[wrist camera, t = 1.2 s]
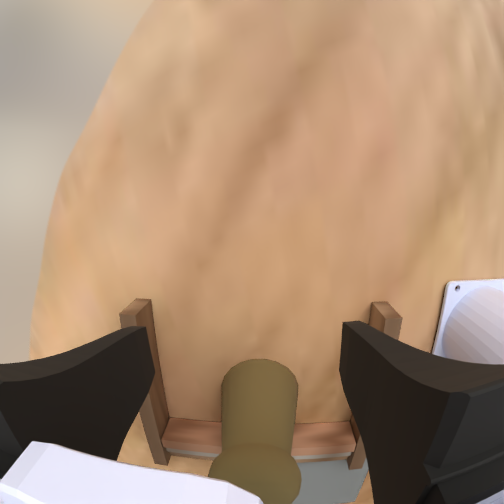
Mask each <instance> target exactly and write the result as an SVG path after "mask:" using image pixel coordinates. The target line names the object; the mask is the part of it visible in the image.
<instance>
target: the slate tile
mask: <svg viewBox="0 0 504 504" xmlns="http://www.w3.org/2000/svg"><path fill="white" fill-rule="evenodd" d="M297 465H298V467H299V469H300V471H301V478H302V481H301V488H300V492H299V495H298V496H297V497H296V499H295V500H294V501H293V502H292V504H340V503H348V502H355V500H356V498H357V495H358V493H359V491H360V489H361V486H362V484H363V482H364V479H365V477H366V475H367V472H368V470H369V468H368V463H367V459H365V462H364V464H363V467H362V469H354V470H349V468H348V464H347V460H346V459H345V460H334V461H322V462H304V463H297Z"/></svg>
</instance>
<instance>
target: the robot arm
mask: <svg viewBox="0 0 504 504" xmlns="http://www.w3.org/2000/svg"><path fill="white" fill-rule="evenodd" d="M457 285H458V287H457V289H456V290H455V287H456V286H457ZM339 371H340V376H341V381H342V385H343V390H344V393H345V396H346V398H347V401H348V404H349V406H350V409H351V411H352V414H353V417H354V419H355V422H356V425H357V427H358V430H359V432H360V435H361V438H362V442H363V445H364V449H365V454H366V459H367V463H368V468H369V474H370V479H371V485H372V492H373V499H374V504H504V279H486V280H464V281H450V282H448V283H447V285H446V288H445V294H444V299H443V305H442V310H441V315H440V320H439V325H438V329H437V334H436V338H435V342H434V346H433V350H432V354H431V353H428V352H425V351H422V350H419V349H416V348H414V347H412V346H409V345H407V344H405V343H403V342H400V341H398V340H396V339H394V338H392V337H390V336H388V335H387V334H385V333H383V332H381V331H379V330H377V329H375V328H374V327H372V326H370V325H368V324H366V323H364V322H361V321H351V322H343V327H342V342H341V355H340V367H339ZM154 375H155V368H154V363H153V359H152V354H151V349H150V344H149V339H148V334H147V329H146V326H130V327H126V328H123V329H120V330H118V331H115V332H113V333H111V334H108V335H106V336H104V337H102V338H99V339H97V340H95V341H92V342H90V343H88V344H85V345H83V346H80V347H77V348H75V349H72V350H70V351H67V352H64V353H61V354H57V355H54V356H50V357H46V358H42V359H37V360H31V361H26V362H20V363H10V364H0V504H263V502H262V501H261V499H260V498H259V497H258V496H256V495H255V494H253V493H251V492H248V491H246V490H244V489H242V488H240V487H238V486H236V485H234V484H232V483H230V482H228V481H226V480H220V479H215V478H210V477H206V476H201V475H197V474H192V473H185V472H177V471H169V470H162V469H156V468H149V467H144V466H138V465H133V464H128V463H123V462H119V461H117V458H118V455H119V452H120V450H121V447H122V444H123V441H124V439H125V437H126V435H127V432H128V431H129V429H130V427H131V425H132V423H133V421H134V419H135V417H136V416H137V414H138V412H139V410H140V408H141V406H142V404H143V402H144V401H145V399H146V397H147V395H148V393H149V390H150V387H151V385H152V382H153V378H154Z"/></svg>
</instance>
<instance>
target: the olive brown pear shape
mask: <svg viewBox="0 0 504 504" xmlns="http://www.w3.org/2000/svg"><path fill="white" fill-rule="evenodd" d="M297 397H298V383H297V380H296V378H295V375H294V374H293V373H292V372H291V371H290V370H289V369H288V368H287V367H285V366H283V365H282V364H280V363H278V362H275V361H271V360H267V359H251V360H248V361H244V362H241V363H239V364H237V365H236V366H234V367H232V368H231V369H230V370H229V371H228V373H227V374H226V375H225V376H224V379H223V383H222V452H221V453H220V454H219V455H218V456H217V457H216V458H215V460H214V461H213V463H212V465H211V468H210V470H209V474H208V477H210V478H215V479H220V480H226V481H228V482H230V483H232V484H234V485H236V486H238V487H240V488H242V489H244V490H246V491H248V492H251V493H253V494H255V495H256V496H258V497H259V498H260V499H261V501H262V502H263V504H292V502H293V501H294V500H295V499H296V497H297V496H298V495H299V492H300V488H301V481H302V478H301V471H300V469H299V467H298V465H297V463H296V461H295V459H294V458H293V457H292V456H291V451H292V442H293V434H294V425H295V416H296V407H297Z"/></svg>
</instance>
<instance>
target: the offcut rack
mask: <svg viewBox="0 0 504 504" xmlns="http://www.w3.org/2000/svg"><path fill="white" fill-rule="evenodd" d="M119 316H120V322H121V328H122V329H123V328H126V327H130V326H146V329H147V334H148V339H149V344H150V349H151V354H152V359H153V363H154V368H155V375H154V378H153V382H152V385H151V387H150V390H149V393H148V395H147V397H146V399H145V401H144V402H143V404H142V406H141V408H140V410H139V412H140V416H141V420H142V423H143V427H144V430H145V434H146V437H147V440H148V444H149V447H150V450H151V453H152V456H153V459H154V463H155V464H161V465H166V466H168V463H169V460H170V457H171V455H173V456H180V457H187V458H196V459H205V460H215V458H216V457H217V456H218V455H219V454H220V453H221V452H222V422H210V421H199V420H189V419H180V418H172V417H170V418H169V413H168V408H167V403H166V398H165V393H164V387H163V382H162V376H161V370H160V364H159V357H158V351H157V344H156V336H155V329H154V321H153V313H152V304H151V299H135V300H134V301H133V302H132V303H131V304H130V305H129V306H127V307H126V308H125V309H124V310H123V311H122V312H121V313H120V314H119ZM401 323H402V317H401V316H400V315H399V314H398V313H397V312H396V311H395V310H394V308H393V307H392V306H391V305H390V304H389V303H388V302H372V305H371V313H370V320H369V325H370V326H372V327H374V328H375V329H377V330H379V331H381V332H383V333H385V334H387V335H388V336H390V337H392V338H394V339H396V340H398V339H399V334H400V329H401ZM291 456H292V457H293V458H294V459H295V461H296V463H304V462H322V461H334V460H345V459H346V460H347V464H348V468H349V470H354V469H362V467H363V464H364V462H365V459H366V454H365V449H364V445H363V442H362V438H361V435H360V432H359V430H358V427H357V425H356V422H355V419H354V417H353V414H352V417H351V421H344V422H330V423H312V424H295V425H294V434H293V442H292V451H291Z"/></svg>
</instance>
